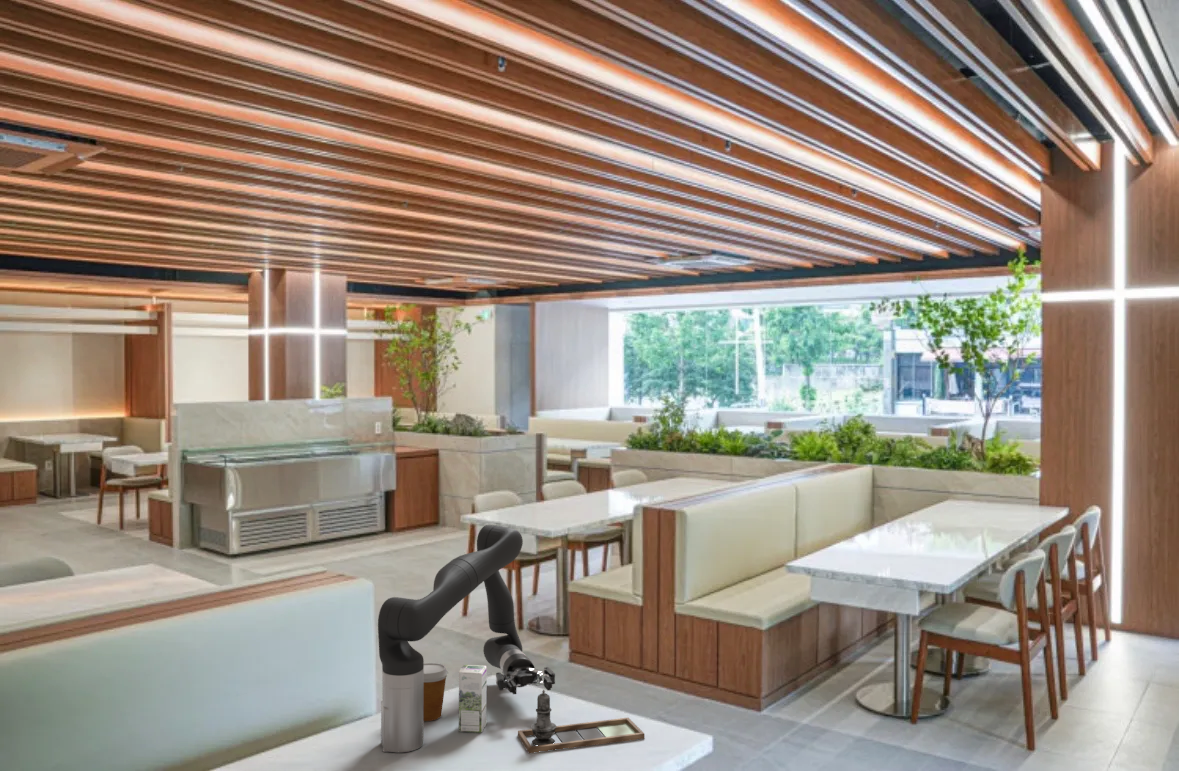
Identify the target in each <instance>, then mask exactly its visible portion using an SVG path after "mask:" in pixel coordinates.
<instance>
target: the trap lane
mask: <svg viewBox="0 0 1179 771" xmlns="http://www.w3.org/2000/svg"><path fill="white" fill-rule="evenodd" d="M554 734H555V735H556V734H557V735H556V736H557V737H558V739H559V738H560V739H559V740H560V742H557V743H556V742H555V743H554V744H546V745H538V746H535V745H532V744H531V743H530V741H529V740H528V739H527V737H531V736H530V735H532V736H534V734H533V732H532V729H531V728H529V729H522V730H518V731H517V738H518V739H519V740H520V742H521V743H522V744H523V745H522V746H524V748H525V749H527V750H526V752H527V753H528V754H535V753H534V752H537V753H540V752H539V751H545V752H549V751H548V750H553V751H556V750H555V749H561V750H564V749H563V748H568V749H573V748H574V747H576V748H583V747H584V748H585V747H591V746H599V745H605V744H614V743H615V744H616V743H621V742H629V741H630V740H631V741H637V739H639V740H645V732H644V731H642V730H641V729H640V728H639V727H638V725H637V724H635V723H634V721H632V719H630V718H629V717H623V718H622V717H620V718H613V719H612V718H611V719H604V720H596V721H589V722H588V721H587V722H581V723H580V722H579V723H573V724H572V723H570V724H562V725H556V729H555V733H554ZM631 741H630V742H631ZM574 749H575V748H574Z"/></svg>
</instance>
